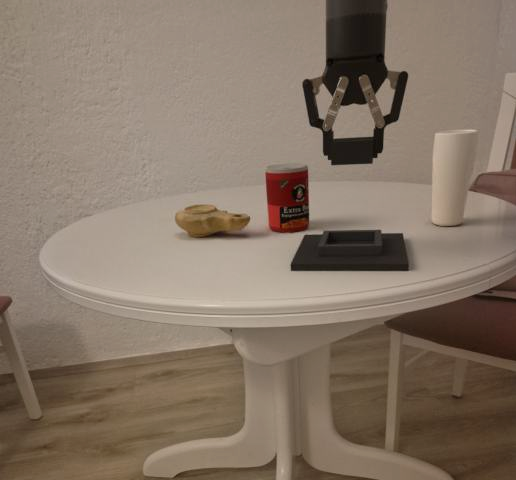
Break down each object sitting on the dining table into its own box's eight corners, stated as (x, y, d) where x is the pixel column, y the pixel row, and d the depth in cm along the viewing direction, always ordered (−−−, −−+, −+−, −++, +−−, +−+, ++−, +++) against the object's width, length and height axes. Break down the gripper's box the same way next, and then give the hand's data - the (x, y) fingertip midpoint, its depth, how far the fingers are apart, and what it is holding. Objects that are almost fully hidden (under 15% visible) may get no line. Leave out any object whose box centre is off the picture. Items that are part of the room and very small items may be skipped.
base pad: (402, 239, 78) (403, 223, 77) (408, 270, 65) (409, 252, 63) (304, 240, 82) (304, 225, 81) (290, 270, 68) (290, 253, 67)
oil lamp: (251, 238, 85) (249, 210, 83) (171, 244, 86) (167, 216, 83) (251, 225, 95) (249, 199, 92) (179, 230, 95) (175, 204, 93)
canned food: (283, 235, 86) (280, 170, 81) (260, 227, 92) (256, 167, 87) (318, 227, 89) (317, 164, 84) (294, 220, 95) (292, 162, 90)
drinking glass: (441, 217, 90) (450, 129, 83) (475, 222, 85) (487, 129, 78) (418, 224, 86) (425, 133, 79) (451, 230, 81) (462, 133, 74)
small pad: (372, 158, 70) (373, 136, 69) (372, 163, 65) (373, 139, 64) (334, 160, 71) (334, 138, 70) (331, 165, 66) (331, 142, 65)
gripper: (294, 17, 59) (298, 164, 66) (417, 4, 56) (407, 159, 63) (302, 25, 65) (305, 157, 73) (413, 13, 62) (404, 153, 70)
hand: (352, 158), depth 68 cm, fingers closed on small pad, 5 cm apart
